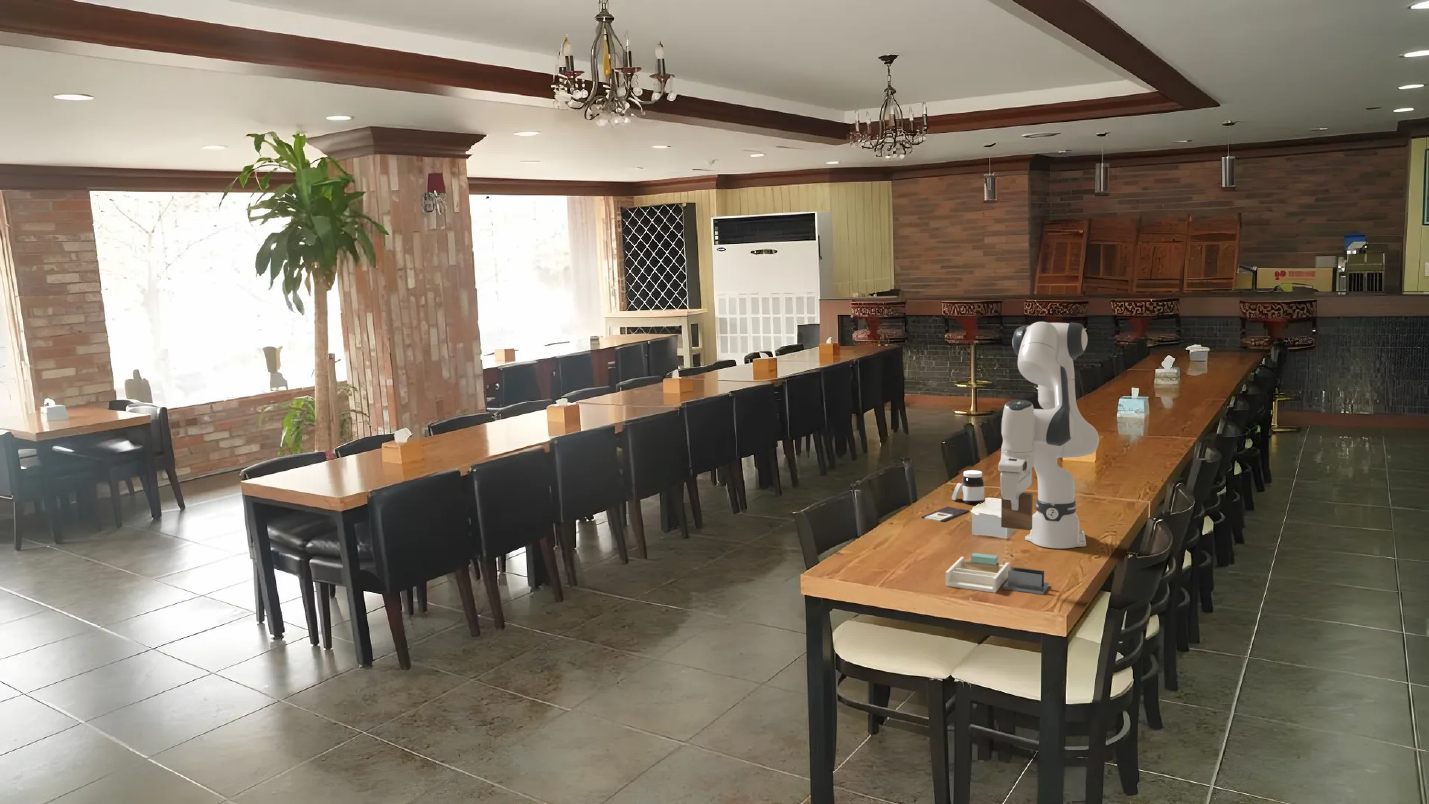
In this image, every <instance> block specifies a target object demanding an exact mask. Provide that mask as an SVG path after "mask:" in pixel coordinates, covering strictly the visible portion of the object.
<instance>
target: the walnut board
mask: <svg viewBox="0 0 1429 804" xmlns="http://www.w3.org/2000/svg"><path fill="white" fill-rule="evenodd" d="M1033 495H1034V494H1033V493H1030V492H1024V493H1022V494H1021V495H1020V496H1019V509H1018V510H1012V504H1011V500H1006V499H1003V498H1002V495H1001V502H1000V503H1001V508H1000V509H1001V510H1000V511H1001V514H1000V515H1001V517H1000V523H1001V527H1000V528H1005V529H1016V530H1023V531H1030V530H1031V529H1032V515H1033V505H1034V504H1033V503H1034V502H1033V499H1034V498H1033V497H1034V496H1033Z"/></svg>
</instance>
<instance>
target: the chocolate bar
mask: <svg viewBox="0 0 1429 804" xmlns="http://www.w3.org/2000/svg"><path fill="white" fill-rule="evenodd" d="M969 512H970V510H969V509H962V508H957V507H952V506H951V507H950V506H946V507H944V508H941V509H937V510H935V511H933V512H930V513H927V514H924V515H923V516H921V519H923V520H930V521H934V522H935V521H936V522H941V523H945V522H948V521H950V520H952V519H954V518H955V519H956V518H957V517H961V516H963V515H965V514H967V513H969Z"/></svg>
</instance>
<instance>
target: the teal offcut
mask: <svg viewBox="0 0 1429 804" xmlns="http://www.w3.org/2000/svg"><path fill="white" fill-rule="evenodd" d="M970 559H971V562H973V563H980V564H988V565H996V564H997V563H999V555H995V554H987V553H986V554H984V553H976V552H973V553H972V554H971V555H970Z"/></svg>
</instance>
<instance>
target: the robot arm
mask: <svg viewBox="0 0 1429 804" xmlns="http://www.w3.org/2000/svg"><path fill="white" fill-rule="evenodd" d="M1087 333H1088V332H1086V329H1085V326H1083V324H1082V323H1078V322H1073V321H1071V322H1069V323H1067V322H1047V321H1036V322H1034V323H1031V324H1030V325H1029V324H1027V325H1021V326H1019V327H1018V328H1016V329H1015V330H1014V333H1013V337H1012V342H1011V343H1012V348H1013V352H1014V354H1015V355H1016V356H1017V369H1018V371H1019V373H1020V374H1021V376H1023V378H1024V379H1026V380H1027V381H1029V382H1030V383H1033V384H1035V385H1037V396H1038V397H1037V401H1038V403H1039V406H1040V408H1034V405H1033V403H1032V402H1031V401H1029V400H1026V399H1014V400H1010V401H1007V402H1006V403H1005V404H1004V407H1003V411H1002V417H1001V418H1000V419H1001V421H1000V433H1001V437H1002V444H1001V447H1000V448H1001V450H1000V452H1001V453H1000V460H999V462H998V468H997V469H998V471H999V472H1000V477H999V479H1000V493H1001V495H1002V498H1003V499H1006V500H1011V504H1012V510H1018V509H1019V496H1020V495H1021V494H1022V493H1025V491H1026V490H1027V489H1028V488H1030V486H1031V485H1032V483H1033V469H1034V471H1035V473H1036V477H1037V478H1036V479H1037V498H1036V502H1035V506H1036V508H1035V509H1036V511H1035V513H1032V529H1031V530H1029V531H1030V533H1029V534H1027V535H1025V537H1024V539H1025V541H1029V542H1031V543H1033V544H1034V545H1036V546H1039V547H1043V548H1050V549H1071V548H1077V547H1078V548H1079V547H1081V548H1082V547H1083V548H1084V547H1087V541H1086V540H1087V539H1086V534H1085V533H1086V532H1085V531H1083V530H1082V529H1080V519H1079V517H1078V515H1077V513H1076V512H1077V501H1076V500H1075V499H1076V497H1075V494H1076V493H1075V492H1076V489H1075V486H1076V484H1075V483H1076V480H1075V477H1074V475H1073V473H1071V471H1069V470H1067V469H1065V468H1063V467H1060V466H1059V464H1058V459H1059V458H1060V459H1063V458H1081V457H1086V456H1088V455H1092V454H1094V453H1095V452H1096V451H1097V449H1098V447H1099V444H1100V436H1099V433H1098V430H1097V429H1096V428H1095V427H1094V426H1093V425H1092V424H1091V423H1089V422H1088V421H1087V420H1086V419H1085V418H1084V417H1083V416H1082V413H1081V412H1080V410H1079V408H1078V404H1077V396H1076V382H1075V381H1076V380H1075V379H1076V378H1075V367H1074V365H1075V364H1074V361H1076V360H1077V358H1078V357H1080V356H1082V355H1083V354H1084V352H1086V348H1087V345H1088V338H1089V337H1088V334H1087ZM1032 468H1033V469H1032Z"/></svg>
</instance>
